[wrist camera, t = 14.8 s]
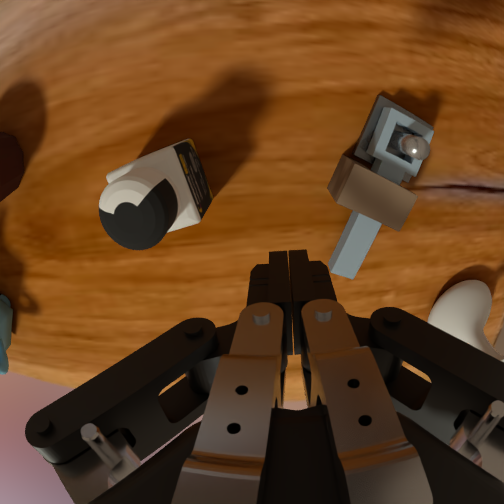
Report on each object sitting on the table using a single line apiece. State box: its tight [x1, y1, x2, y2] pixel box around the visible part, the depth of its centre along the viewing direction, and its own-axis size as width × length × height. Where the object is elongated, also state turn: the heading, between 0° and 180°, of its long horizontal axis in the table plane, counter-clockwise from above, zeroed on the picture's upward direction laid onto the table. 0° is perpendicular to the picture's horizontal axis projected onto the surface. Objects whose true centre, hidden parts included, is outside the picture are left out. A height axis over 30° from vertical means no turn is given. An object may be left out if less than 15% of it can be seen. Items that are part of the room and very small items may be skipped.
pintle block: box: [352, 95, 433, 183], centre depth 26 cm, size 7×7×7 cm
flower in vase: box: [427, 280, 504, 362], centre depth 27 cm, size 13×11×25 cm
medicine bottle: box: [99, 139, 213, 250], centre depth 27 cm, size 7×7×12 cm
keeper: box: [327, 154, 418, 231], centre depth 29 cm, size 4×7×5 cm, turn 69°
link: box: [328, 107, 434, 279], centre depth 30 cm, size 18×5×2 cm, turn 162°
